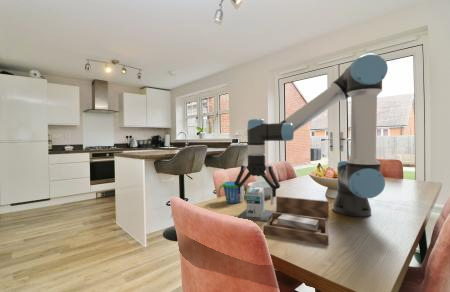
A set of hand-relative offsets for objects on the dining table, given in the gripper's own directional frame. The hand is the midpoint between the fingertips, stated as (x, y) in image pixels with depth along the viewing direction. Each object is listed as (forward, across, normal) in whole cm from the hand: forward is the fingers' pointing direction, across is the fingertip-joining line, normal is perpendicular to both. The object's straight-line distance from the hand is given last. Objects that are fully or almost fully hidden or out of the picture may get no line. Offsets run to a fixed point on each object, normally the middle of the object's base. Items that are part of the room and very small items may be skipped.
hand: (256, 202), depth 101 cm
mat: (+5, 0, 0) cm, 5 cm away
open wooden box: (+6, -18, +7) cm, 20 cm away
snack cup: (+6, +18, -15) cm, 24 cm away
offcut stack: (+6, -18, +13) cm, 23 cm away
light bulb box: (+5, 0, 0) cm, 5 cm away
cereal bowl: (+6, +7, -33) cm, 34 cm away
